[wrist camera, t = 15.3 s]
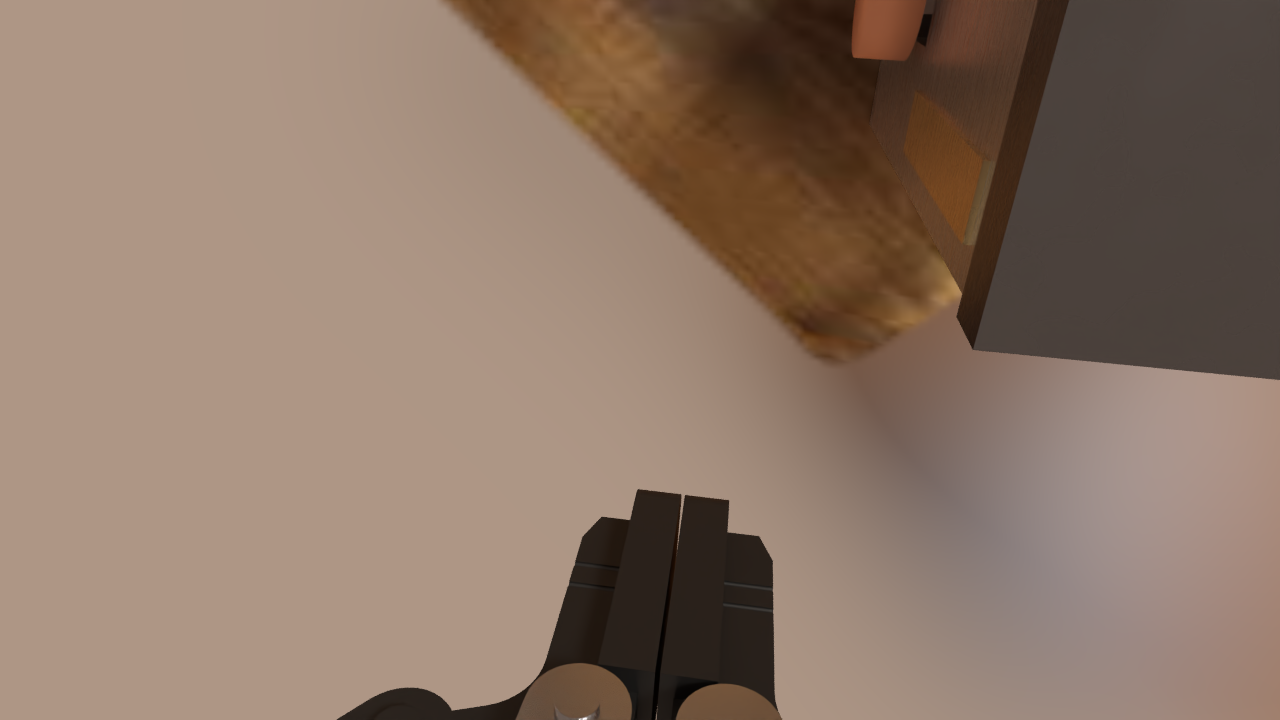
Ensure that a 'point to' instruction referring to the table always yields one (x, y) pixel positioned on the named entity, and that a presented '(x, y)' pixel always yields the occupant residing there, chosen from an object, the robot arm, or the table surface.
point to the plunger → (887, 27)
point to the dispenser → (1099, 175)
